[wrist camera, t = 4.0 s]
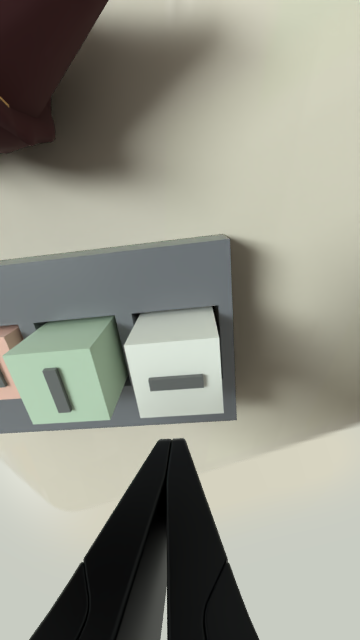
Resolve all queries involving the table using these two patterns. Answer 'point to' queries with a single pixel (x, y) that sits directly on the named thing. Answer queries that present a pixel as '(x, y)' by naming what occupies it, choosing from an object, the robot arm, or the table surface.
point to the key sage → (70, 370)
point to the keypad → (121, 308)
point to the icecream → (37, 63)
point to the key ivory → (176, 363)
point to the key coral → (3, 341)
